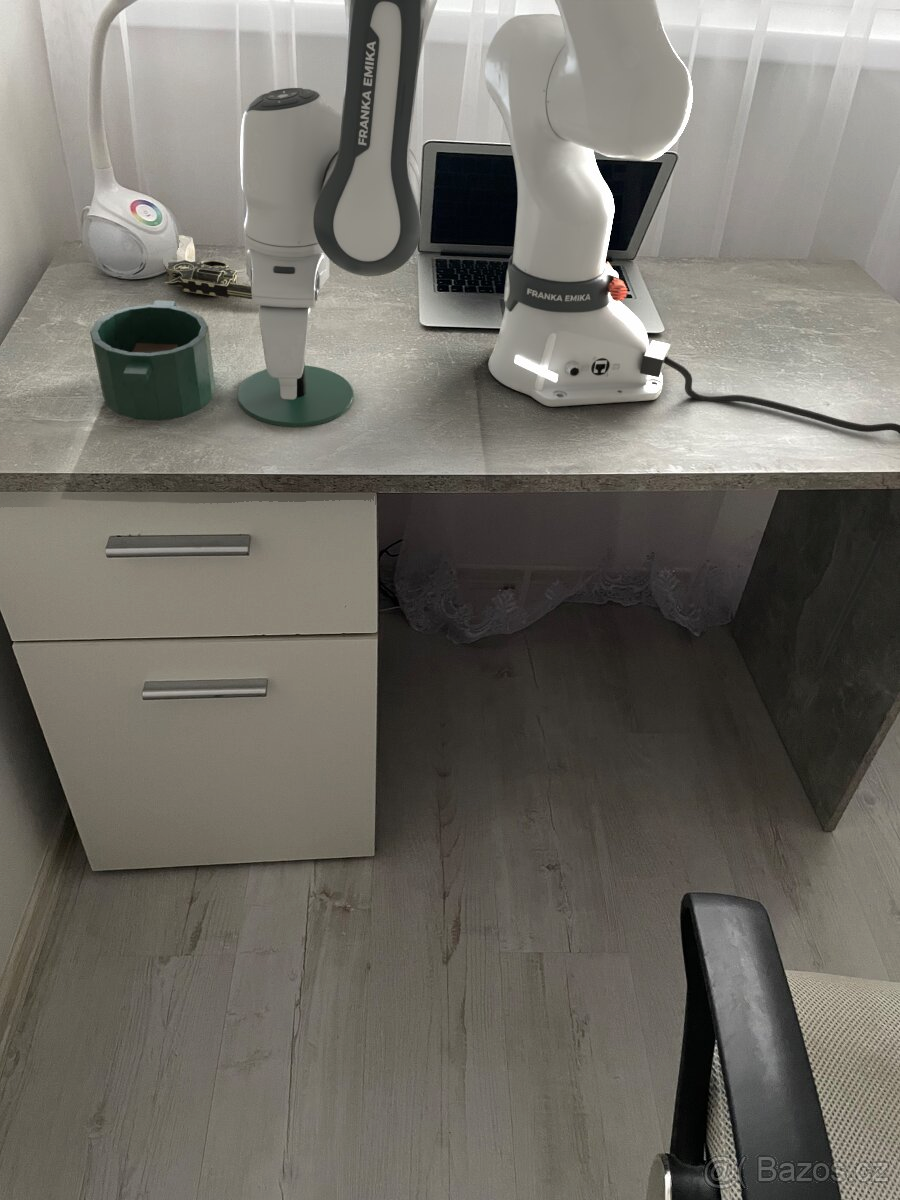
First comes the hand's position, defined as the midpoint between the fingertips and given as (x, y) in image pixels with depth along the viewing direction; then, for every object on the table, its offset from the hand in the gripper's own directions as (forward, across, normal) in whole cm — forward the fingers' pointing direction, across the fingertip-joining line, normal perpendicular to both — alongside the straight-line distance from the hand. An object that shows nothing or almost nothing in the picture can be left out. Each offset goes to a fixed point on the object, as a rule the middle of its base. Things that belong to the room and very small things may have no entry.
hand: (291, 376), depth 110 cm
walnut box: (+4, -2, -16) cm, 16 cm away
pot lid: (+3, -1, 0) cm, 4 cm away
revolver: (+4, -34, -12) cm, 36 cm away
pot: (+4, -2, -16) cm, 16 cm away
